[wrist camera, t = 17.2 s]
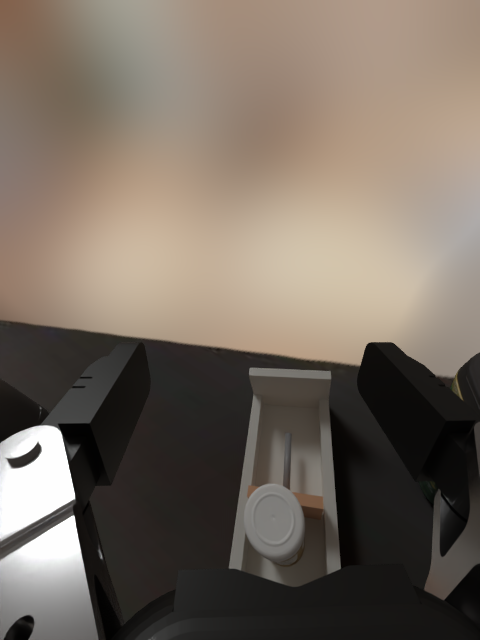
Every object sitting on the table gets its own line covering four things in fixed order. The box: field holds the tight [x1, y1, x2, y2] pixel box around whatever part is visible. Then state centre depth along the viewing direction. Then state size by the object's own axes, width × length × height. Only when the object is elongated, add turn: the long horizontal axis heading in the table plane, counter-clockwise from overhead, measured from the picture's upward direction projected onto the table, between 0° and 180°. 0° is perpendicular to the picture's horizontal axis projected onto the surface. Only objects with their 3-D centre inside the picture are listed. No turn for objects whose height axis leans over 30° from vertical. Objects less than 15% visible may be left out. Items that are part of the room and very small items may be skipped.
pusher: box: [247, 433, 324, 520], centre depth 30 cm, size 8×7×6 cm
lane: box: [229, 368, 341, 587], centre depth 29 cm, size 22×10×9 cm, turn 170°
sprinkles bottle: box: [244, 484, 305, 567], centre depth 24 cm, size 5×5×14 cm
